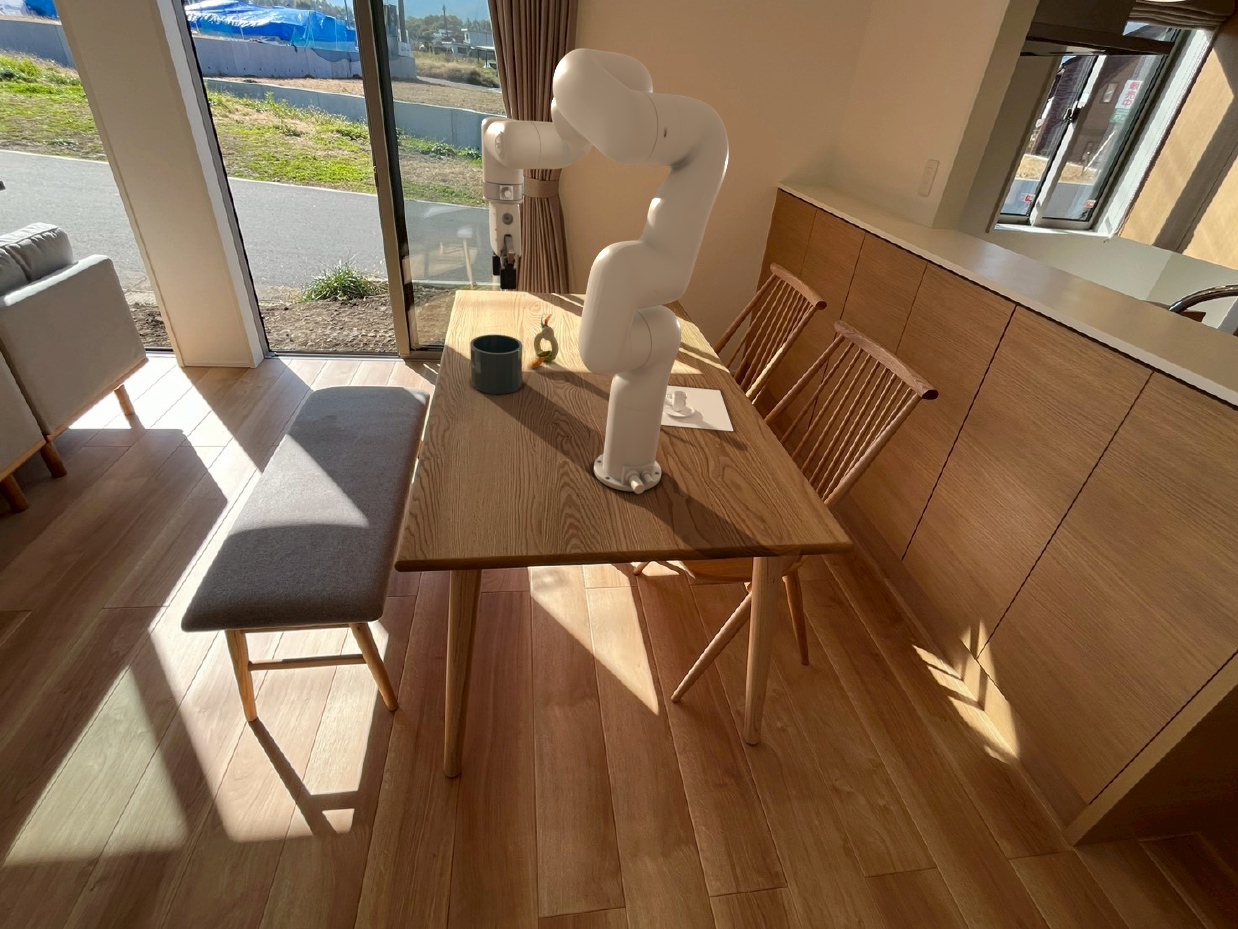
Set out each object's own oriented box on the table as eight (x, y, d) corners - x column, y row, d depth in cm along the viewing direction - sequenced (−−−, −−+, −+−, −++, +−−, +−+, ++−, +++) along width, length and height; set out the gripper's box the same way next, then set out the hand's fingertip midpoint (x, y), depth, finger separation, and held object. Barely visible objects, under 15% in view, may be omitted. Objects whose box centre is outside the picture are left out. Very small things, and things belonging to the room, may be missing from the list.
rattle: (516, 359, 148) (517, 314, 142) (543, 353, 153) (545, 309, 147) (533, 370, 144) (534, 324, 138) (560, 364, 149) (563, 319, 143)
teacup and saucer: (658, 398, 138) (660, 382, 136) (692, 401, 138) (695, 386, 136) (660, 416, 131) (663, 400, 128) (696, 420, 131) (699, 403, 129)
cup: (525, 392, 134) (526, 353, 128) (474, 395, 130) (473, 354, 125) (516, 371, 142) (517, 333, 137) (469, 373, 139) (467, 334, 134)
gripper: (531, 201, 108) (530, 294, 117) (514, 185, 122) (514, 270, 131) (490, 199, 106) (492, 295, 115) (477, 183, 119) (480, 270, 129)
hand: (504, 281), depth 123 cm, fingers open, 9 cm apart
